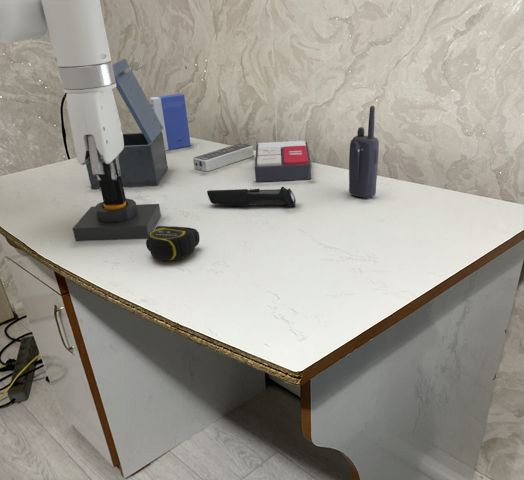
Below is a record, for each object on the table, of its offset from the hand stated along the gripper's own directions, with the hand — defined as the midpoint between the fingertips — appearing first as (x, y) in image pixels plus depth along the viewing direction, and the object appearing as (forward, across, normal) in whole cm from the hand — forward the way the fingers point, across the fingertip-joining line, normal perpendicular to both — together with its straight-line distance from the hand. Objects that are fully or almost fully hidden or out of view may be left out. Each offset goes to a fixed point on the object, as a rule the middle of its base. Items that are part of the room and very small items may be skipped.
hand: (115, 202), depth 87 cm
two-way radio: (+5, -11, +41) cm, 43 cm away
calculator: (+5, -29, +27) cm, 40 cm away
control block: (+4, 0, 0) cm, 4 cm away
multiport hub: (+5, -37, +14) cm, 40 cm away
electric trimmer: (+5, -8, +22) cm, 24 cm away
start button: (+2, 0, 0) cm, 2 cm away
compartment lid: (-10, -28, -1) cm, 30 cm away
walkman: (+4, -52, 0) cm, 52 cm away
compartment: (+4, -28, -5) cm, 29 cm away
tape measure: (+5, +11, +11) cm, 16 cm away
